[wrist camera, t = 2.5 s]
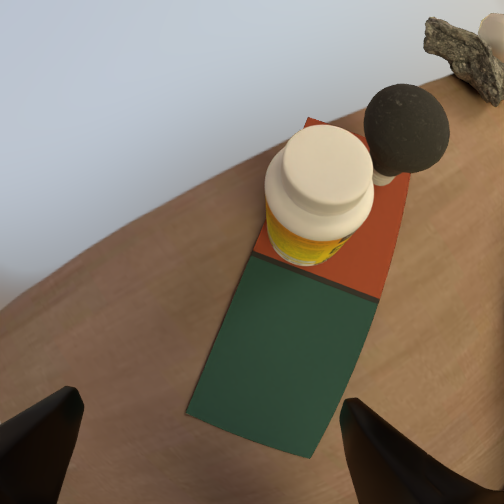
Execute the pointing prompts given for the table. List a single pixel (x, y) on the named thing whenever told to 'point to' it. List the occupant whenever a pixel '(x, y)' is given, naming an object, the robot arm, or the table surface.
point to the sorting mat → (298, 333)
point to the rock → (467, 58)
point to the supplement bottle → (317, 193)
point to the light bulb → (404, 131)
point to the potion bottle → (493, 33)
